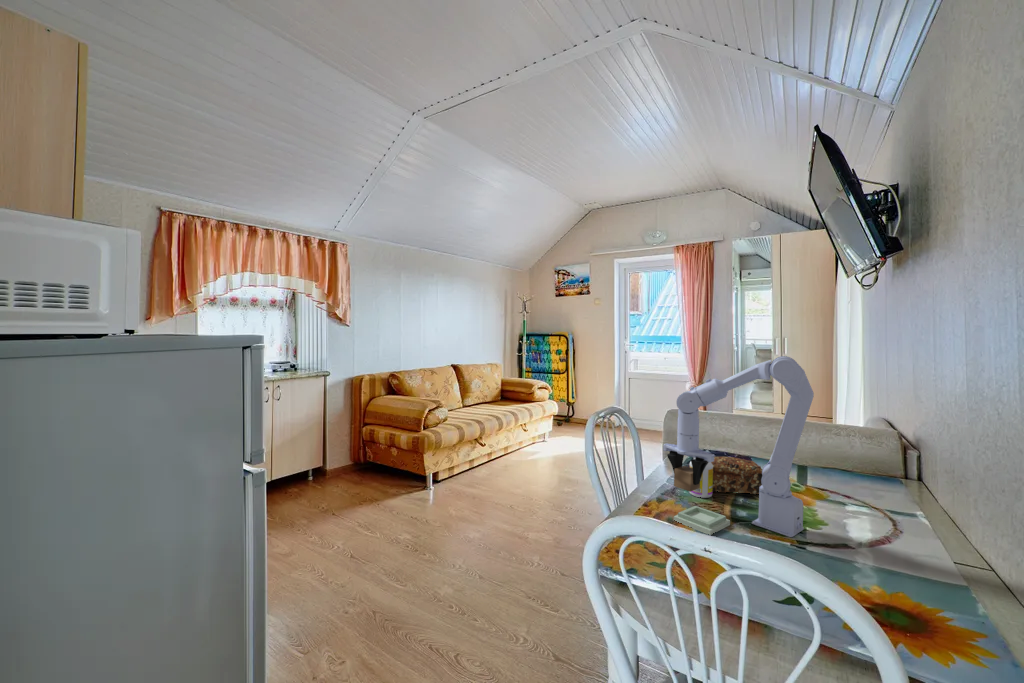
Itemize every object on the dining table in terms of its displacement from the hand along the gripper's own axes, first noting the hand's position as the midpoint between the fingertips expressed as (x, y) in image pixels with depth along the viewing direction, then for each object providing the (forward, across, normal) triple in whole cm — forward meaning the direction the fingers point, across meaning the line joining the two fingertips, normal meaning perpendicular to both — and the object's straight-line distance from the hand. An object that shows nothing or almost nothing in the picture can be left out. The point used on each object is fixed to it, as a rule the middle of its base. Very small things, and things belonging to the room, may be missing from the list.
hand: (687, 481), depth 124 cm
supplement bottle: (+8, -3, +13) cm, 15 cm away
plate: (+8, +8, -6) cm, 12 cm away
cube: (+2, 0, 0) cm, 2 cm away
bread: (+8, -1, +26) cm, 27 cm away
